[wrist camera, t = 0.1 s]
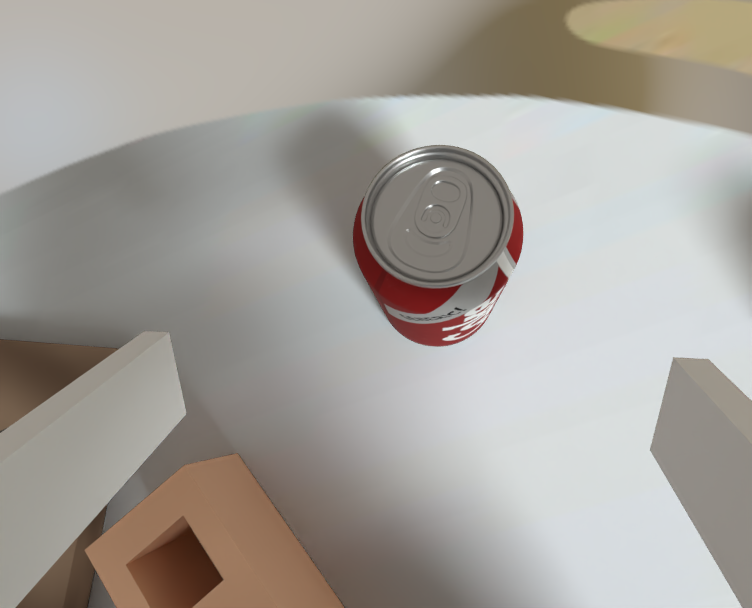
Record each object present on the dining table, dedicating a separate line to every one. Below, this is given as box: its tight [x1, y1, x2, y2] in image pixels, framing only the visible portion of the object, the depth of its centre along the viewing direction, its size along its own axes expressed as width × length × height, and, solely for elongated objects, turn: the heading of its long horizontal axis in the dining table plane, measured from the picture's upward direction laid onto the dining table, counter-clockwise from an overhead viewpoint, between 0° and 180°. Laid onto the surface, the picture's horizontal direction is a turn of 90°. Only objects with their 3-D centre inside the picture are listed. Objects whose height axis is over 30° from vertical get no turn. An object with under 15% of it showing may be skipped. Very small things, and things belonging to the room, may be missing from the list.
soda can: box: [353, 145, 523, 347], centre depth 22 cm, size 7×7×12 cm
